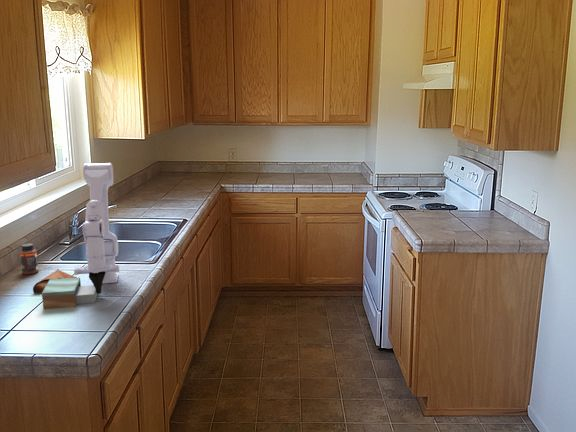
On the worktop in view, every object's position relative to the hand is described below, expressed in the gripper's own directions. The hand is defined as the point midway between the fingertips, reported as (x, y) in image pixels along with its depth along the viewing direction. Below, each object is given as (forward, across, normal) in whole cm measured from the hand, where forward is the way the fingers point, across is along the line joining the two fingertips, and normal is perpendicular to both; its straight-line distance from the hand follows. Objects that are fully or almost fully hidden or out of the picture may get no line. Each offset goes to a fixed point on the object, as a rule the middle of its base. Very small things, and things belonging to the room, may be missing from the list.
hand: (99, 292), depth 191 cm
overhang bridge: (+2, -12, 0) cm, 12 cm away
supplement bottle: (+2, -29, +34) cm, 45 cm away
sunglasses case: (+2, -17, +17) cm, 24 cm away
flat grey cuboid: (+2, -8, 0) cm, 8 cm away
